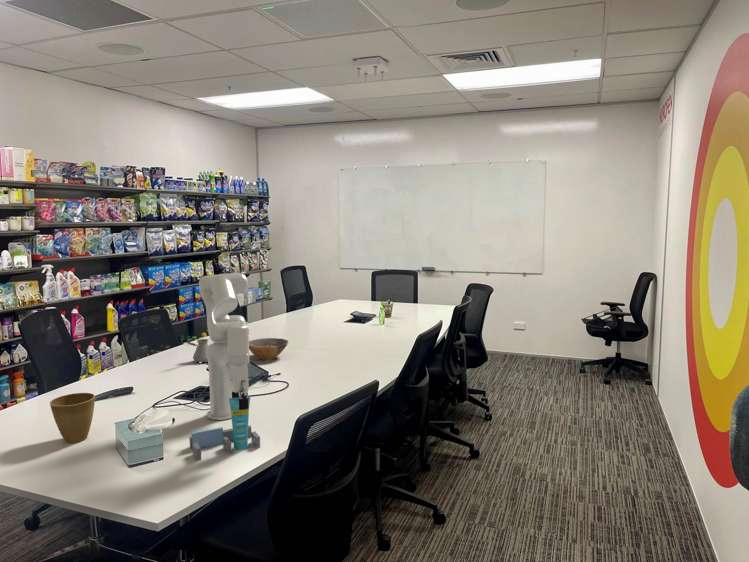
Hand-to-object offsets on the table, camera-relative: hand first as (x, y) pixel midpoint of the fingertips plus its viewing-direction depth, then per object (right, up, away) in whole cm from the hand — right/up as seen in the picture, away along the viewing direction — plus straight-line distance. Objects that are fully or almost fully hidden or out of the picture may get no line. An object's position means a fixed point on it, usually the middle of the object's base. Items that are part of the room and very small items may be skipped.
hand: (240, 405), depth 197 cm
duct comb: (-6, -16, +3) cm, 17 cm away
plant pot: (-65, -15, +10) cm, 67 cm away
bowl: (-16, -2, +131) cm, 132 cm away
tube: (0, -16, +2) cm, 16 cm away
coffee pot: (-53, -3, +118) cm, 130 cm away
